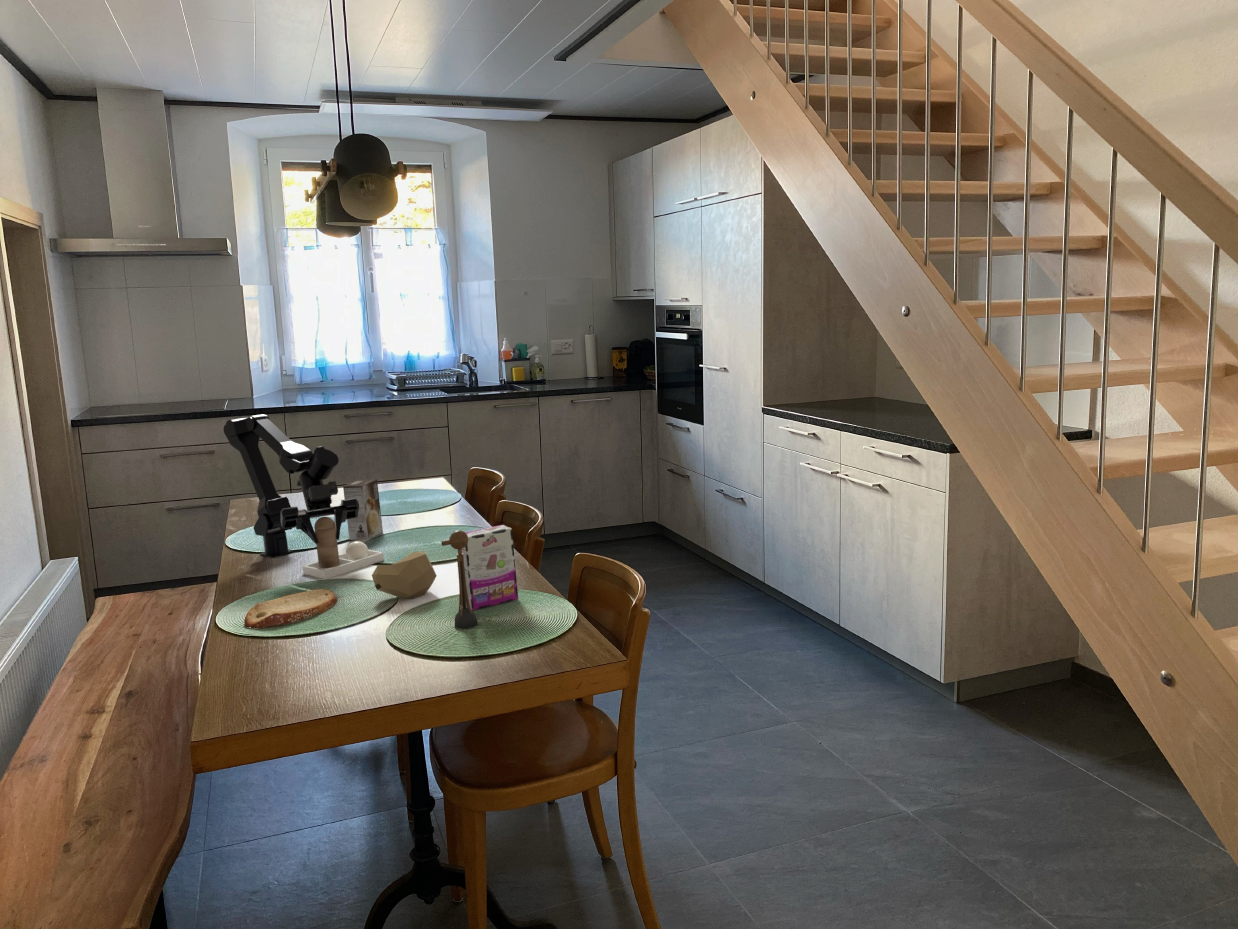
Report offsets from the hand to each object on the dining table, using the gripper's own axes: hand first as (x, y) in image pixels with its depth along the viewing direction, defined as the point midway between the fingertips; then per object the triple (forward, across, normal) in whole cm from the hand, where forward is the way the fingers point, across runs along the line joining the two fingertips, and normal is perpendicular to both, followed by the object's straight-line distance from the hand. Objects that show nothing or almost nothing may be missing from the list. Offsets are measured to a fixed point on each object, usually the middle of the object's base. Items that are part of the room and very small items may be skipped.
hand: (327, 541), depth 224 cm
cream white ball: (+2, +8, +9) cm, 12 cm away
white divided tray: (+4, +4, +8) cm, 10 cm away
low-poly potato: (+27, +11, -14) cm, 32 cm away
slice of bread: (+23, -13, -10) cm, 29 cm away
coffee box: (-17, +16, +30) cm, 38 cm away
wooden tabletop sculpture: (+45, +16, -33) cm, 58 cm away
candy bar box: (+38, +25, -26) cm, 53 cm away
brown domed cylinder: (+4, 0, +6) cm, 7 cm away
